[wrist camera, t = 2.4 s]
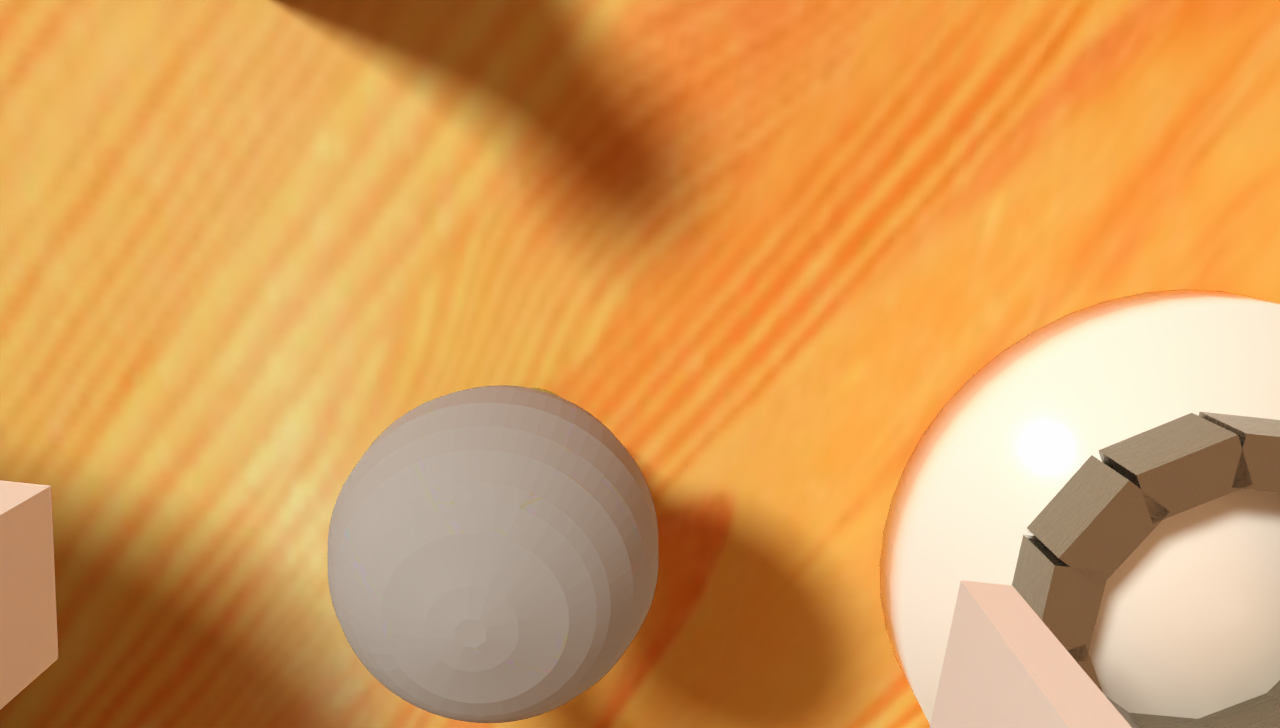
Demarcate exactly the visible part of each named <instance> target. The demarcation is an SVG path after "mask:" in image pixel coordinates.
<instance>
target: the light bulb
mask: <svg viewBox="0 0 1280 728" xmlns="http://www.w3.org/2000/svg"><path fill="white" fill-rule="evenodd" d="M658 566H659V557H658V524H657V516H656V511H655V507H654V502H653V499H652V496H651V493H650V490H649V487H648V485H647V483H646V481H645V479H644V476H643V474H642V473H641V471H640V469H639V467H638V466H637V464H636V462H635V461H634V459H633V458H632V457H631V455H630V454H629V452H628V451H627V450H626V448H625V447H624V446H623V445H622V444H621V442H620V441H619V440H618V439H617V438H616V437H615V436H614V435H613V433H612V432H611V431H610V430H609V429H608V428H607V427H606V426H605V425H603V424H602V423H601V422H600V421H599V420H598V419H596V418H595V417H594V416H592V415H591V414H590V413H588V412H587V411H585V410H584V409H582V408H580V407H579V406H577V405H576V404H574V403H571V402H569V401H567V400H565V399H563V398H561V397H559V396H557V395H556V394H554V393H552V392H550V391H547V390H544V389H539V388H525V387H519V386H485V387H476V388H472V389H467V390H462V391H459V392H455V393H451V394H448V395H445V396H442V397H439V398H436V399H433V400H431V401H429V402H427V403H424V404H422V405H420V406H418V407H416V408H415V409H413V410H411V411H409V412H408V413H406V414H405V415H403V416H402V417H400V418H399V419H398V420H396V421H395V422H394V423H393V424H391V425H390V426H389V427H388V428H387V429H386V430H384V431H383V432H382V434H381V435H380V436H379V437H378V438H377V439H376V440H375V441H374V442H373V443H372V445H371V446H370V447H369V449H368V450H367V451H366V453H365V454H364V455H363V457H362V458H361V459H360V461H359V462H358V463H357V465H356V466H355V468H354V469H353V470H352V472H351V474H350V475H349V477H348V479H347V480H346V482H345V483H344V485H343V488H342V490H341V492H340V494H339V496H338V498H337V501H336V504H335V507H334V510H333V514H332V518H331V523H330V527H329V536H328V580H329V589H330V594H331V598H332V603H333V606H334V609H335V612H336V615H337V618H338V620H339V622H340V625H341V627H342V629H343V631H344V634H345V636H346V638H347V640H348V642H349V644H350V645H351V647H352V649H353V651H354V652H355V654H356V655H357V656H358V658H359V659H360V661H361V662H362V664H363V665H364V666H365V667H366V668H367V669H368V670H369V672H370V673H371V674H372V675H373V676H374V677H375V678H376V679H377V680H378V681H379V682H380V683H381V684H383V685H384V686H385V687H386V688H388V689H389V690H390V691H391V692H393V693H394V694H396V695H397V696H399V697H400V698H402V699H403V700H405V701H407V702H409V703H411V704H413V705H414V706H416V707H419V708H421V709H423V710H425V711H428V712H430V713H433V714H436V715H439V716H442V717H446V718H450V719H455V720H460V721H467V722H476V723H501V722H510V721H517V720H522V719H527V718H530V717H534V716H537V715H540V714H543V713H546V712H548V711H551V710H553V709H555V708H557V707H559V706H561V705H563V704H565V703H567V702H568V701H570V700H572V699H573V698H575V697H576V696H578V695H579V694H581V693H583V692H584V691H586V690H587V689H589V688H590V687H591V686H593V685H594V684H595V683H596V682H598V681H599V680H600V679H601V678H602V677H603V676H604V675H605V674H606V673H607V672H609V671H610V669H611V668H612V667H613V666H614V665H615V664H616V663H617V661H618V660H619V659H620V657H621V656H622V655H623V653H624V652H625V650H626V649H627V648H628V646H629V645H630V643H631V642H632V640H633V639H634V637H635V636H636V635H637V633H638V631H639V629H640V628H641V626H642V624H643V622H644V620H645V618H646V616H647V613H648V611H649V609H650V606H651V603H652V600H653V596H654V593H655V588H656V583H657V576H658Z"/></svg>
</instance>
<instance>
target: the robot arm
mask: <svg viewBox="0 0 1280 728" xmlns="http://www.w3.org/2000/svg"><path fill="white" fill-rule="evenodd" d="M57 659H58V636H57V613H56V589H55V565H54V541H53V517H52V494H51V486H49V485H40V484H30V483H21V482H11V481H1V480H0V710H1V709H2V708H3V707H4V706H5V705H6V704H7V703H9V702H10V701H11V700H12V699H13V698H14V697H15V696H17V695H18V694H19V693H20V692H21V691H22V690H23V689H24V688H26V687H27V686H28V685H29V684H30V683H31V682H32V681H33V680H35V679H36V678H37V677H38V676H39V675H40V674H41V673H43V672H44V671H45V670H46V669H47V668H48V667H49V666H50V665H52V664H53V663H54V662H55V661H56V660H57ZM930 728H1132V727H1131V726H1130V725H1129V724H1128V722H1127V721H1126V720H1125V719H1124V718H1123V716H1122V715H1121V714H1120V713H1119V712H1118V711H1117V709H1116V708H1115V707H1114V706H1113V705H1112V703H1111V702H1110V701H1109V700H1108V699H1107V697H1106V696H1105V695H1104V694H1103V693H1102V692H1101V690H1100V689H1099V688H1098V687H1097V686H1096V684H1095V683H1094V682H1093V681H1092V680H1091V678H1090V677H1089V676H1088V675H1087V674H1086V672H1085V671H1084V670H1083V669H1082V668H1081V667H1080V665H1079V664H1078V663H1077V662H1076V661H1075V659H1074V658H1073V657H1072V656H1071V655H1070V653H1069V652H1068V651H1067V650H1066V649H1065V647H1064V646H1063V645H1062V644H1061V643H1060V642H1059V640H1058V639H1057V638H1056V637H1055V636H1054V634H1053V633H1052V632H1051V631H1050V630H1049V628H1048V627H1047V626H1046V625H1045V624H1044V622H1043V621H1042V620H1041V619H1040V618H1039V617H1038V615H1037V614H1036V613H1035V612H1034V611H1033V609H1032V608H1031V607H1030V606H1029V605H1028V603H1027V602H1026V601H1025V600H1024V599H1023V598H1022V596H1021V595H1020V594H1019V593H1018V592H1017V590H1016V589H1015V588H1014V587H1013V586H1011V585H1002V584H992V583H982V582H973V581H963V580H961V582H960V586H959V591H958V596H957V601H956V605H955V610H954V615H953V620H952V624H951V629H950V634H949V638H948V643H947V648H946V653H945V657H944V662H943V667H942V671H941V676H940V681H939V686H938V690H937V695H936V700H935V704H934V709H933V714H932V719H931V723H930Z"/></svg>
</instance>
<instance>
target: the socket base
mask: <svg viewBox="0 0 1280 728" xmlns="http://www.w3.org/2000/svg"><path fill="white" fill-rule="evenodd" d="M1199 412H1209V413H1218V414H1228V415H1237V416H1247V417H1256V418H1265V419H1275V420H1280V303H1276V302H1272V301H1267V300H1263V299H1259V298H1255V297H1249V296H1244V295H1238V294H1233V293H1227V292H1222V291H1204V290H1172V291H1160V292H1149V293H1142V294H1137V295H1132V296H1128V297H1123V298H1118V299H1114V300H1109V301H1105V302H1102V303H1099V304H1097V305H1094V306H1091V307H1088V308H1085V309H1082V310H1079V311H1076V312H1074V313H1071V314H1068V315H1066V316H1064V317H1062V318H1060V319H1058V320H1056V321H1054V322H1052V323H1050V324H1048V325H1046V326H1044V327H1042V328H1040V329H1038V330H1036V331H1034V332H1032V333H1031V334H1029V335H1028V336H1026V337H1024V338H1023V339H1021V340H1020V341H1018V342H1017V343H1015V344H1014V345H1012V346H1010V347H1009V348H1007V349H1006V350H1004V351H1003V352H1001V353H1000V354H999V355H998V356H996V357H995V358H994V359H993V360H992V361H990V362H989V363H988V364H987V365H985V366H984V367H983V368H982V369H981V370H979V371H978V372H977V373H976V374H975V375H973V376H972V377H971V378H970V379H969V380H968V381H967V382H966V383H965V384H964V386H963V387H962V388H961V389H960V390H959V391H958V392H957V393H956V394H955V395H954V396H953V397H952V398H951V399H950V400H949V401H948V402H947V403H946V404H945V406H944V407H943V408H942V410H941V411H940V413H939V414H938V415H937V417H936V418H935V419H934V421H933V422H932V423H931V425H930V426H929V427H928V429H927V430H926V431H925V433H924V434H923V436H922V438H921V439H920V441H919V443H918V445H917V446H916V448H915V450H914V452H913V453H912V455H911V457H910V459H909V461H908V462H907V464H906V466H905V468H904V471H903V473H902V476H901V478H900V481H899V483H898V485H897V488H896V490H895V493H894V495H893V498H892V501H891V505H890V509H889V513H888V516H887V520H886V524H885V528H884V532H883V541H882V549H881V558H880V597H881V603H882V609H883V615H884V621H885V626H886V630H887V633H888V636H889V639H890V642H891V645H892V649H893V652H894V655H895V658H896V660H897V662H898V664H899V666H900V668H901V669H902V671H903V673H904V675H905V677H906V679H907V681H908V683H909V685H910V687H911V689H912V691H913V693H914V695H915V697H916V699H917V701H918V703H919V704H920V706H921V708H922V710H923V712H924V714H925V716H926V718H927V720H928V722H929V724H930V723H931V719H932V714H933V709H934V704H935V700H936V695H937V690H938V686H939V681H940V676H941V671H942V667H943V662H944V657H945V653H946V648H947V643H948V638H949V634H950V629H951V624H952V620H953V615H954V610H955V605H956V601H957V596H958V591H959V586H960V582H961V580H963V581H973V582H982V583H992V584H1002V585H1011V586H1012V582H1013V578H1014V573H1015V569H1016V565H1017V560H1018V556H1019V551H1020V547H1021V542H1022V538H1023V534H1024V535H1034V534H1033V533H1032V532H1031V531H1030V530H1029V529H1028V528H1027V527H1028V526H1029V525H1030V524H1031V523H1032V521H1033V520H1034V519H1035V518H1036V517H1037V516H1038V515H1039V514H1040V512H1041V511H1042V510H1043V509H1044V508H1045V507H1046V506H1047V505H1048V503H1049V502H1050V501H1051V500H1052V499H1053V498H1054V497H1055V496H1056V494H1057V493H1058V492H1059V491H1060V490H1061V489H1062V488H1063V487H1064V485H1065V484H1066V483H1067V482H1068V481H1069V480H1070V479H1071V478H1072V476H1073V475H1074V474H1075V473H1076V472H1077V471H1078V470H1079V469H1080V468H1081V466H1082V465H1083V464H1084V463H1085V462H1086V461H1087V460H1088V459H1089V457H1090V456H1091V455H1092V456H1094V457H1095V458H1097V459H1098V460H1100V461H1101V462H1102V460H1101V457H1100V454H1099V451H1098V450H1100V449H1103V448H1105V447H1108V446H1110V445H1113V444H1115V443H1118V442H1120V441H1123V440H1125V439H1128V438H1130V437H1133V436H1135V435H1138V434H1140V433H1143V432H1145V431H1148V430H1150V429H1153V428H1155V427H1158V426H1160V425H1163V424H1165V423H1168V422H1170V421H1172V420H1175V419H1177V418H1180V417H1182V416H1185V415H1187V414H1190V413H1193V414H1195V415H1198V416H1199ZM1034 536H1035V535H1034ZM1088 653H1089V655H1090V658H1091V661H1092V664H1093V667H1094V669H1095V672H1096V675H1097V678H1098V681H1099V683H1100V686H1101V689H1102V692H1103V694H1104V695H1105V696H1106V697H1108V698H1109V699H1111V700H1112V701H1113V702H1115V703H1116V704H1118V705H1119V706H1120V707H1122V708H1123V709H1125V710H1126V711H1127V712H1129V713H1139V714H1150V715H1161V716H1172V717H1183V718H1194V719H1199V718H1202V717H1204V716H1207V715H1210V714H1212V713H1215V712H1218V711H1220V710H1223V709H1226V708H1228V707H1231V706H1234V705H1236V704H1239V703H1242V702H1244V701H1247V700H1250V699H1252V698H1255V697H1258V696H1260V695H1263V694H1266V693H1267V692H1268V691H1269V690H1270V689H1271V688H1272V687H1273V686H1274V685H1275V684H1276V683H1277V682H1278V681H1279V680H1280V492H1271V491H1261V490H1251V489H1240V490H1237V491H1235V492H1232V493H1230V494H1227V495H1224V496H1222V497H1219V498H1217V499H1214V500H1212V501H1209V502H1207V503H1204V504H1202V505H1199V506H1196V507H1194V508H1191V509H1189V510H1186V511H1184V512H1181V513H1179V514H1176V515H1174V516H1171V517H1169V518H1166V519H1163V520H1162V521H1161V522H1160V523H1159V524H1158V525H1157V527H1156V528H1155V529H1154V530H1153V531H1152V532H1151V533H1150V534H1149V535H1148V536H1147V537H1146V538H1145V539H1144V541H1143V542H1142V543H1141V544H1140V545H1139V546H1138V547H1137V548H1136V549H1135V550H1134V551H1133V552H1132V554H1131V555H1130V556H1129V557H1128V558H1127V559H1126V560H1125V561H1124V562H1123V563H1122V564H1121V565H1120V567H1119V568H1118V569H1117V570H1116V571H1115V572H1114V573H1113V574H1112V575H1111V576H1110V577H1109V578H1108V579H1107V581H1106V585H1105V589H1104V593H1103V597H1102V601H1101V605H1100V609H1099V612H1098V616H1097V620H1096V624H1095V628H1094V632H1093V636H1092V640H1091V644H1090V648H1089V652H1088Z"/></svg>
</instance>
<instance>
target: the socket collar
mask: <svg viewBox="0 0 1280 728" xmlns="http://www.w3.org/2000/svg"><path fill="white" fill-rule="evenodd" d="M1098 451H1099V454H1100V457H1101V460H1102V462H1101V461H1100V460H1098V459H1097V458H1095V457H1094V456H1092V455H1091V456H1090V457H1089V459H1088V460H1087V461H1086V462H1085V463H1084V464H1083V465H1082V466H1081V468H1080V469H1079V470H1078V471H1077V472H1076V473H1075V474H1074V475H1073V476H1072V478H1071V479H1070V480H1069V481H1068V482H1067V483H1066V484H1065V485H1064V487H1063V488H1062V489H1061V490H1060V491H1059V492H1058V493H1057V494H1056V496H1055V497H1054V498H1053V499H1052V500H1051V501H1050V502H1049V503H1048V505H1047V506H1046V507H1045V508H1044V509H1043V510H1042V511H1041V512H1040V514H1039V515H1038V516H1037V517H1036V518H1035V519H1034V520H1033V521H1032V523H1031V524H1030V525H1029V526H1028V527H1027V528H1028V529H1029V530H1030V531H1031V532H1032V533H1033V534H1034V535H1035V536H1034V535H1024V534H1023V538H1022V542H1021V547H1020V551H1019V556H1018V560H1017V565H1016V569H1015V573H1014V578H1013V582H1012V586H1013V587H1014V588H1015V589H1016V590H1017V592H1018V593H1019V594H1020V595H1021V596H1022V598H1023V599H1024V600H1025V601H1026V602H1027V603H1028V605H1029V606H1030V607H1031V608H1032V609H1033V611H1034V612H1035V613H1036V614H1037V615H1038V617H1039V618H1040V619H1041V620H1042V621H1043V622H1044V624H1045V625H1046V626H1047V627H1048V628H1049V630H1050V631H1051V632H1052V633H1053V634H1054V636H1055V637H1056V638H1057V639H1058V640H1059V642H1060V643H1061V644H1062V645H1063V646H1064V647H1065V649H1066V650H1067V651H1068V652H1069V653H1070V655H1071V656H1072V657H1073V658H1074V659H1075V661H1076V662H1077V663H1078V664H1079V665H1080V667H1081V668H1082V669H1083V670H1084V671H1085V672H1086V674H1087V675H1088V676H1089V677H1090V678H1091V680H1092V681H1093V682H1094V683H1095V684H1096V686H1097V687H1098V688H1099V689H1100V690H1101V692H1102V689H1101V686H1100V683H1099V681H1098V678H1097V675H1096V672H1095V669H1094V667H1093V664H1092V661H1091V658H1090V655H1089V653H1088V652H1089V648H1090V644H1091V640H1092V636H1093V632H1094V628H1095V624H1096V620H1097V616H1098V612H1099V609H1100V605H1101V601H1102V597H1103V593H1104V589H1105V585H1106V581H1107V579H1108V578H1109V577H1110V576H1111V575H1112V574H1113V573H1114V572H1115V571H1116V570H1117V569H1118V568H1119V567H1120V565H1121V564H1122V563H1123V562H1124V561H1125V560H1126V559H1127V558H1128V557H1129V556H1130V555H1131V554H1132V552H1133V551H1134V550H1135V549H1136V548H1137V547H1138V546H1139V545H1140V544H1141V543H1142V542H1143V541H1144V539H1145V538H1146V537H1147V536H1148V535H1149V534H1150V533H1151V532H1152V531H1153V530H1154V529H1155V528H1156V527H1157V525H1158V524H1159V523H1160V522H1161V521H1162V520H1163V519H1166V518H1169V517H1171V516H1174V515H1176V514H1179V513H1181V512H1184V511H1186V510H1189V509H1191V508H1194V507H1196V506H1199V505H1202V504H1204V503H1207V502H1209V501H1212V500H1214V499H1217V498H1219V497H1222V496H1224V495H1227V494H1230V493H1232V492H1235V491H1237V490H1240V489H1251V490H1261V491H1271V492H1280V420H1275V419H1265V418H1256V417H1247V416H1237V415H1228V414H1218V413H1209V412H1199V416H1198V415H1195V414H1193V413H1190V414H1187V415H1185V416H1182V417H1180V418H1177V419H1175V420H1172V421H1170V422H1168V423H1165V424H1163V425H1160V426H1158V427H1155V428H1153V429H1150V430H1148V431H1145V432H1143V433H1140V434H1138V435H1135V436H1133V437H1130V438H1128V439H1125V440H1123V441H1120V442H1118V443H1115V444H1113V445H1110V446H1108V447H1105V448H1103V449H1100V450H1098ZM1102 693H1103V692H1102ZM1107 699H1108V700H1109V701H1110V702H1111V703H1112V705H1113V706H1114V707H1115V708H1116V709H1117V711H1118V712H1119V713H1120V714H1121V715H1122V716H1123V718H1124V719H1125V720H1126V721H1127V722H1128V724H1129V725H1130V726H1131V727H1132V728H1280V680H1279V681H1278V682H1277V683H1276V684H1275V685H1274V686H1273V687H1272V688H1271V689H1270V690H1269V691H1268V692H1267V693H1266V694H1263V695H1260V696H1258V697H1255V698H1252V699H1250V700H1247V701H1244V702H1242V703H1239V704H1236V705H1234V706H1231V707H1228V708H1226V709H1223V710H1220V711H1218V712H1215V713H1212V714H1210V715H1207V716H1204V717H1202V718H1199V719H1194V718H1183V717H1172V716H1161V715H1150V714H1139V713H1129V712H1127V711H1126V710H1125V709H1123V708H1122V707H1120V706H1119V705H1118V704H1116V703H1115V702H1113V701H1112V700H1111V699H1109V698H1108V697H1107Z"/></svg>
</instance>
